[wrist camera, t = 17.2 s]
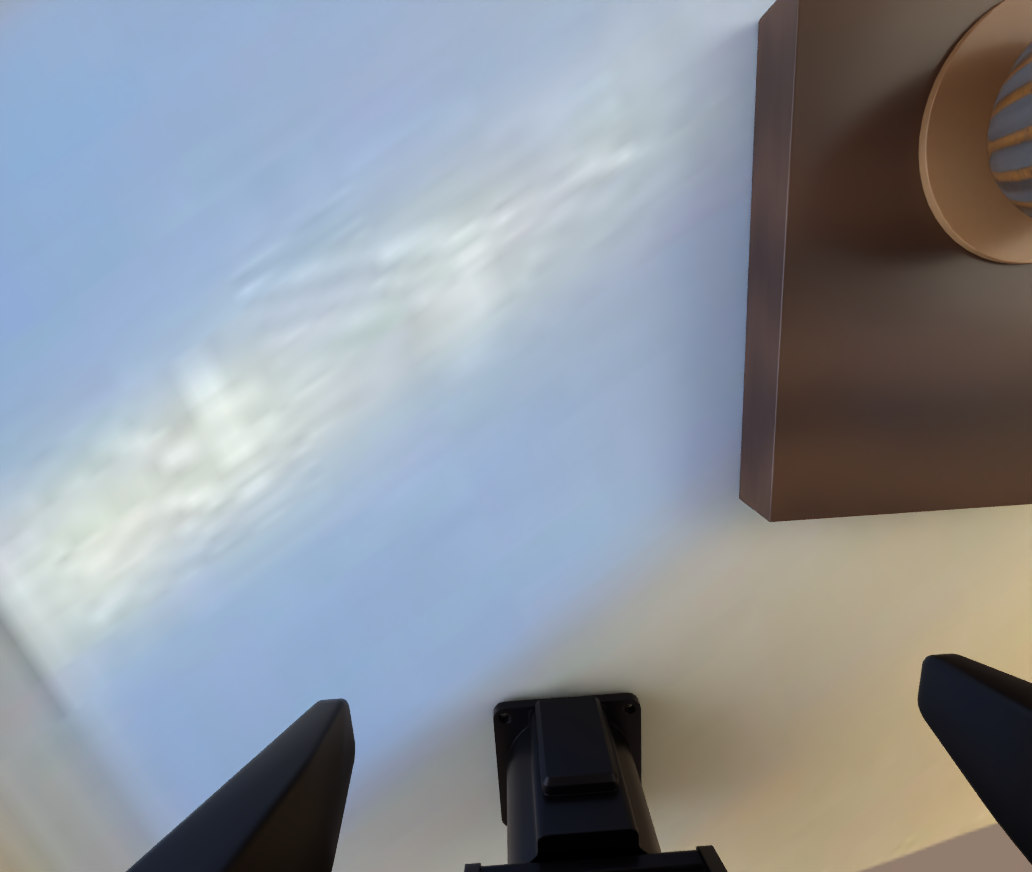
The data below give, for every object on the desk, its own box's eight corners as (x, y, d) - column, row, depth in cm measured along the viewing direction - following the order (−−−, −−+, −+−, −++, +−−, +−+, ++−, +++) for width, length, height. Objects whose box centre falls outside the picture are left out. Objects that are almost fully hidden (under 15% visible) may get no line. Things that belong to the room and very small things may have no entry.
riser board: (1038, 478, 21) (1116, 502, 19) (738, 498, 21) (773, 525, 18) (1124, -1, 17) (1240, -59, 15) (758, 20, 17) (805, -35, 15)
